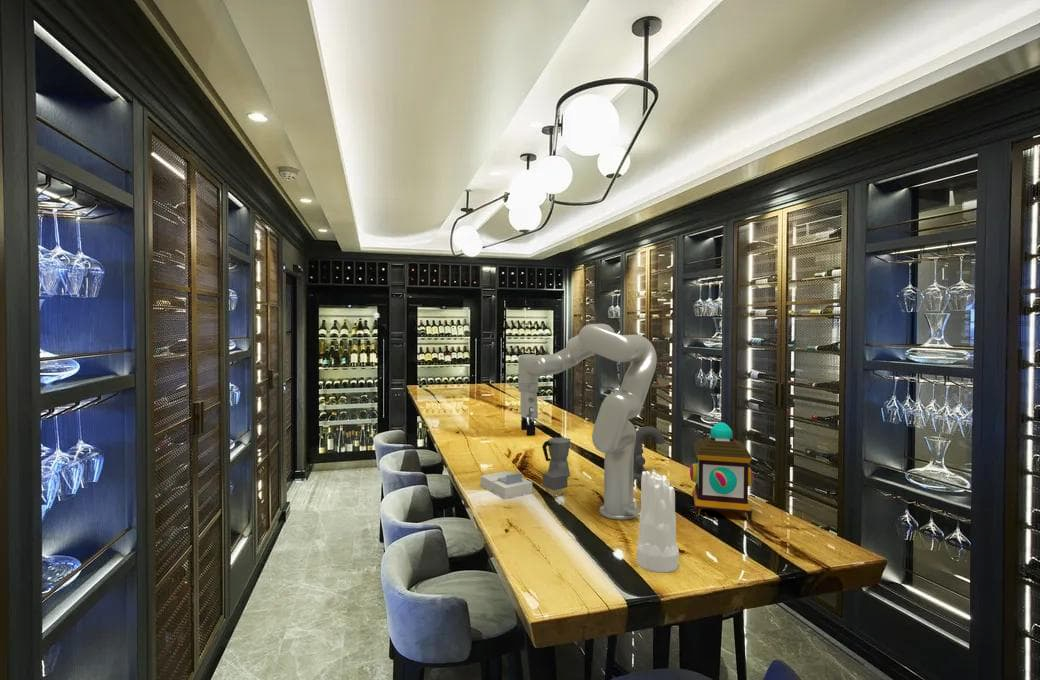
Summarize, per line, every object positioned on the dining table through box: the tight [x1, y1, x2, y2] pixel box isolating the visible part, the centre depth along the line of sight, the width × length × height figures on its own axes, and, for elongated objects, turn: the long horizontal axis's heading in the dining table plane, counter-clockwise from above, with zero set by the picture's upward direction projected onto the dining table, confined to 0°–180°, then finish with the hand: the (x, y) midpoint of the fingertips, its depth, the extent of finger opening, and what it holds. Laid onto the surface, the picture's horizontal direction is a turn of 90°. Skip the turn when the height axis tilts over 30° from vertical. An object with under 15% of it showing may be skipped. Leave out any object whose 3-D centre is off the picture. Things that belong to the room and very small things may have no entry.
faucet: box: [633, 425, 666, 480], centre depth 221 cm, size 18×16×20 cm
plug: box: [542, 471, 568, 497], centre depth 195 cm, size 6×6×8 cm
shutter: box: [498, 472, 523, 485], centre depth 198 cm, size 7×7×3 cm
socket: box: [480, 470, 533, 500], centre depth 201 cm, size 18×12×4 cm, turn 34°
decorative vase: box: [636, 468, 680, 573], centre depth 139 cm, size 11×11×25 cm
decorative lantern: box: [689, 422, 754, 522], centre depth 178 cm, size 20×20×30 cm
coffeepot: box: [542, 432, 571, 479], centre depth 216 cm, size 15×9×18 cm, turn 129°
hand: (528, 432), depth 198 cm, fingers open, 9 cm apart
